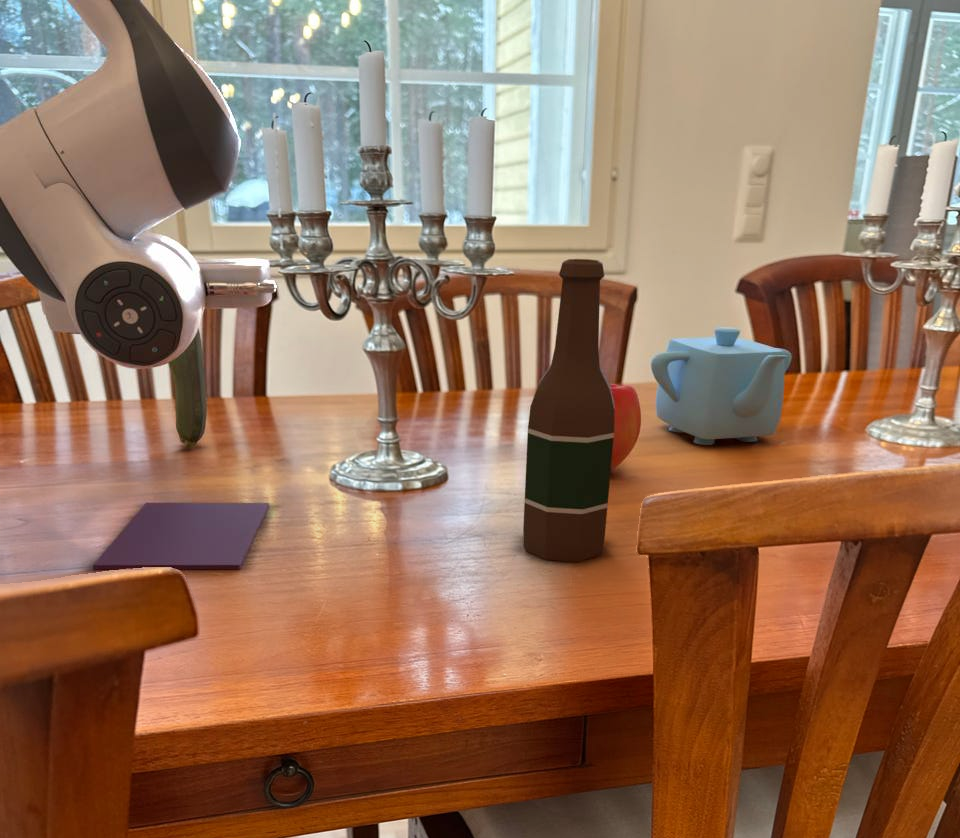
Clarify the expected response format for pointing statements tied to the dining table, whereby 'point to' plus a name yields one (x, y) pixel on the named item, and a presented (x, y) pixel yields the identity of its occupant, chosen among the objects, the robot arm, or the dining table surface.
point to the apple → (624, 422)
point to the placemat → (186, 536)
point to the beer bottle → (571, 430)
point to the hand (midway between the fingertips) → (164, 275)
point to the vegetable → (190, 393)
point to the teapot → (720, 386)
